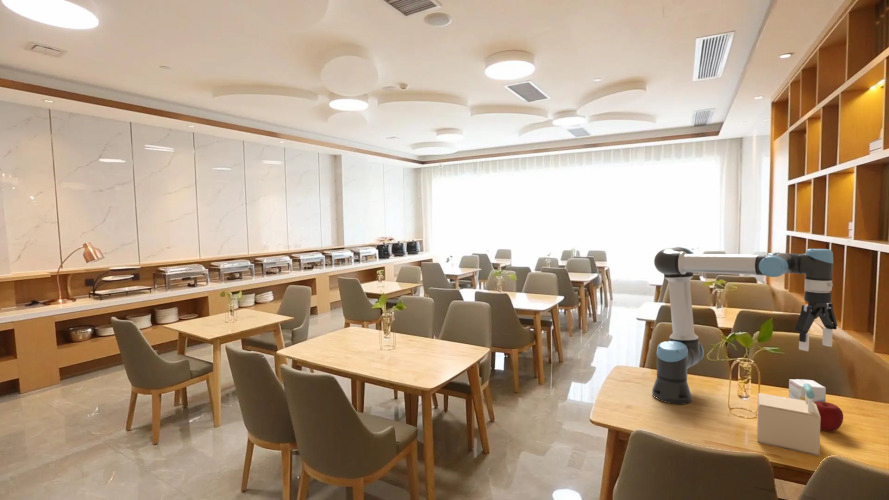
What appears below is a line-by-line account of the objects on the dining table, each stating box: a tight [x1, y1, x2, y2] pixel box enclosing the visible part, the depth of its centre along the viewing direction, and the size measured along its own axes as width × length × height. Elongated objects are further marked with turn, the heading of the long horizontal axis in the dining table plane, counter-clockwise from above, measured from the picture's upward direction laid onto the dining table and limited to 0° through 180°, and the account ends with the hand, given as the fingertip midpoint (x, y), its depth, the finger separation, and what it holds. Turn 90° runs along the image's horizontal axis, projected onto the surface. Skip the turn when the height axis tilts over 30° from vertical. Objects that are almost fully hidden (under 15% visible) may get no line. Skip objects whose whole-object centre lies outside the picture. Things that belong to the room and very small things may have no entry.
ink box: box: [788, 378, 827, 402], centre depth 169 cm, size 9×8×12 cm
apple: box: [814, 401, 844, 432], centre depth 154 cm, size 10×10×10 cm
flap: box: [758, 383, 818, 416], centre depth 146 cm, size 15×12×7 cm
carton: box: [756, 393, 821, 457], centre depth 147 cm, size 16×12×13 cm
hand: (815, 348), depth 157 cm, fingers open, 13 cm apart
